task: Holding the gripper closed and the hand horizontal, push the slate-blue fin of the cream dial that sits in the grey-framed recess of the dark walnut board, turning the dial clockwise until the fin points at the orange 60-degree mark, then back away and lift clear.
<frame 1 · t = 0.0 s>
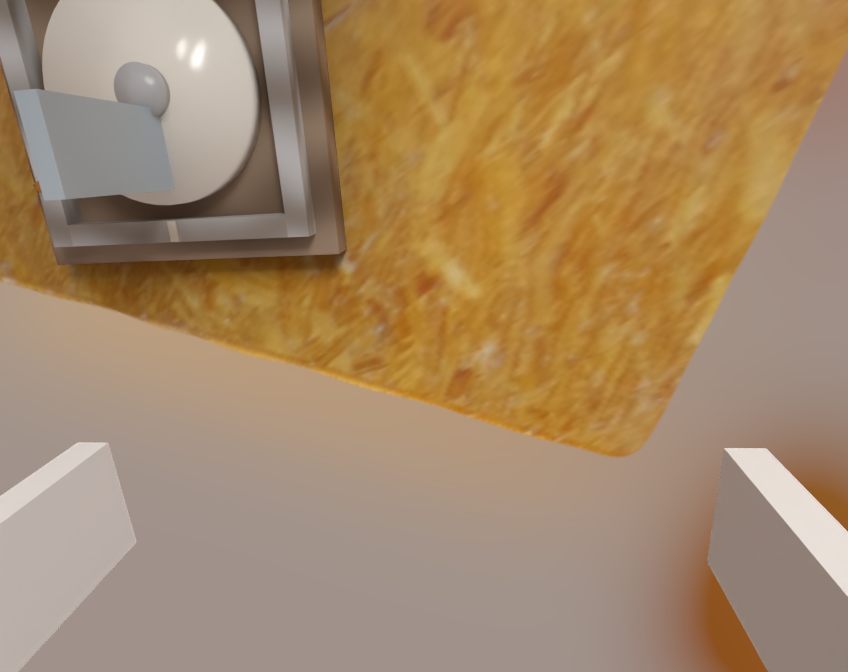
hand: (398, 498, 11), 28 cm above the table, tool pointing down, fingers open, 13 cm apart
dial housing: (177, 98, 36), on the table
dial: (101, 83, 29), point 8 cm above the table, hinge at 0.0°
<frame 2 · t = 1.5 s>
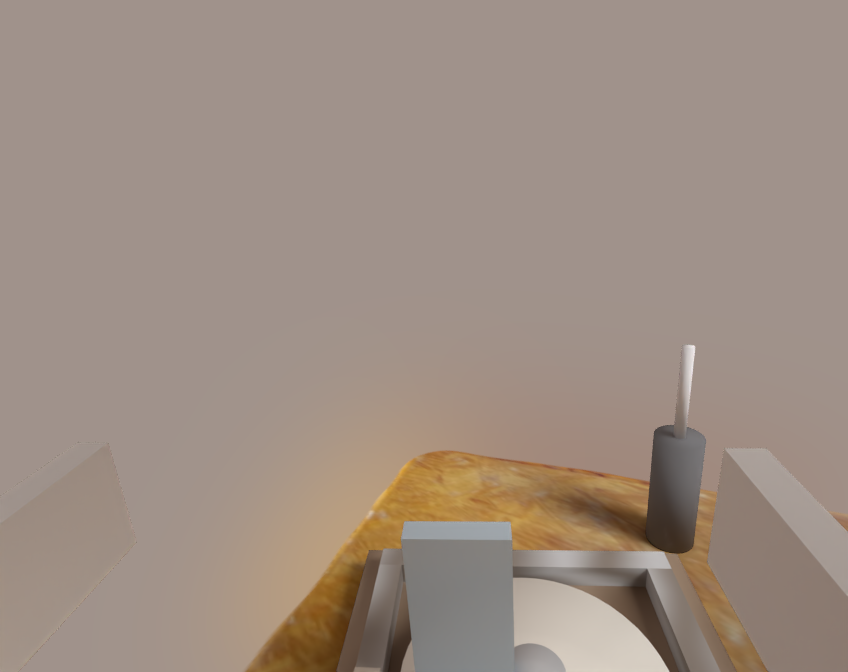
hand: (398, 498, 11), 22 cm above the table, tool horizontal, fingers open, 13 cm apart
screwdriver: (669, 537, 40), on the table
dial: (533, 623, 25), point 8 cm above the table, hinge at 0.0°
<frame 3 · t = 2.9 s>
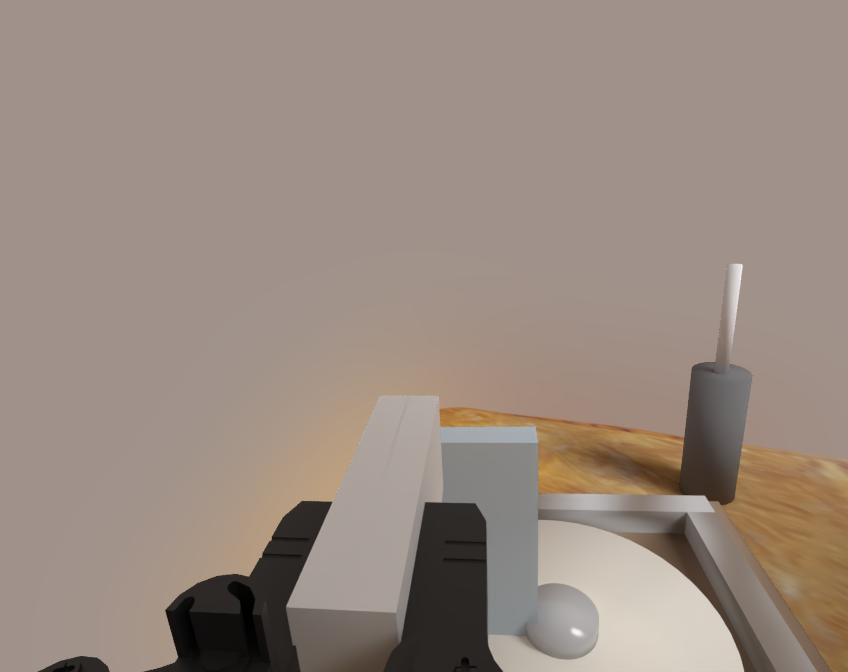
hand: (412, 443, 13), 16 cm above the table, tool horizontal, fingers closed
screwdriver: (706, 490, 36), on the table
dial: (561, 552, 21), point 8 cm above the table, hinge at 0.0°
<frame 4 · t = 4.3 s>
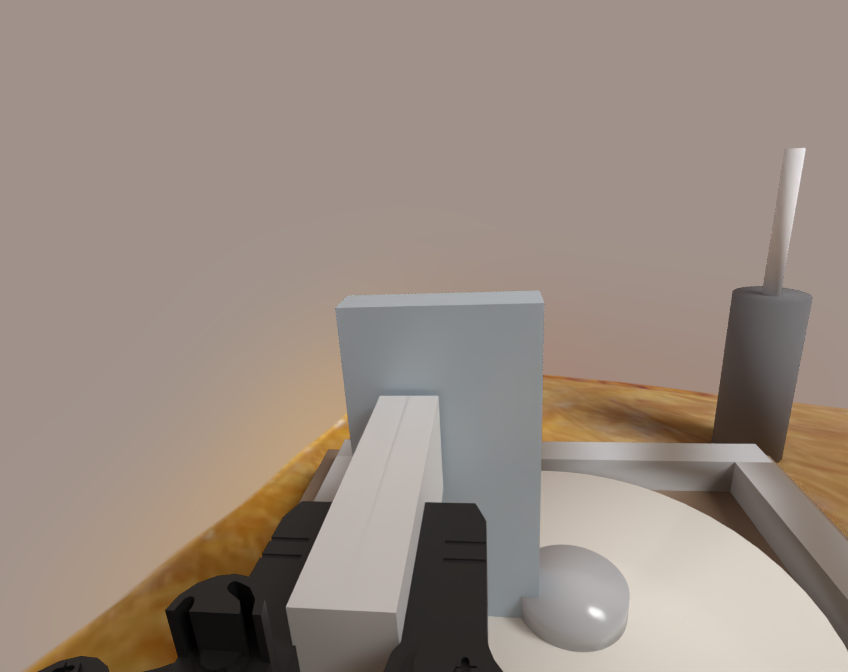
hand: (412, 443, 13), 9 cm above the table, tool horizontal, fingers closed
screwdriver: (745, 448, 29), on the table
dial: (575, 490, 14), point 8 cm above the table, hinge at 0.0°, touching gripper
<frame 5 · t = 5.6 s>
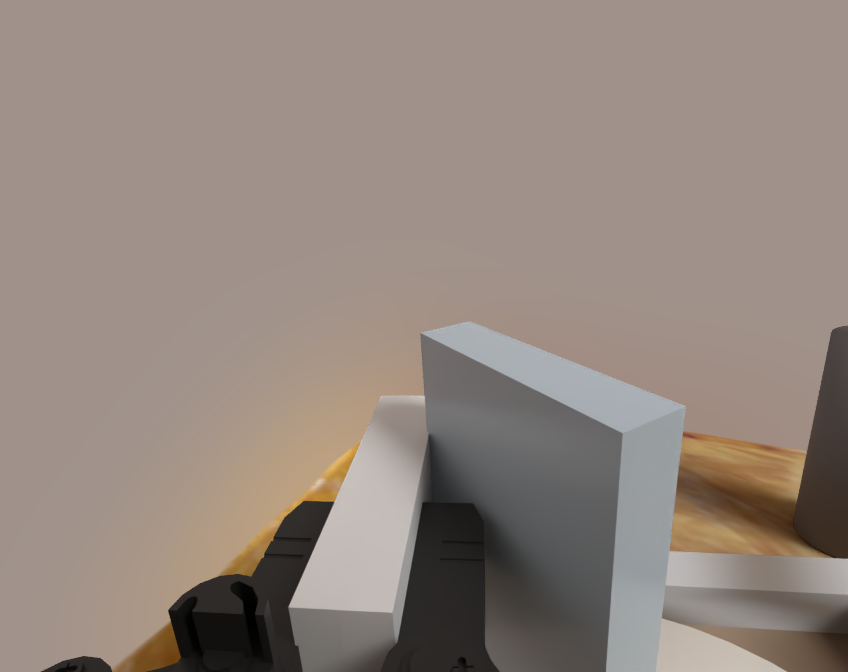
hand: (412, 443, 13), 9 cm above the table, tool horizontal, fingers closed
screwdriver: (840, 535, 22), on the table
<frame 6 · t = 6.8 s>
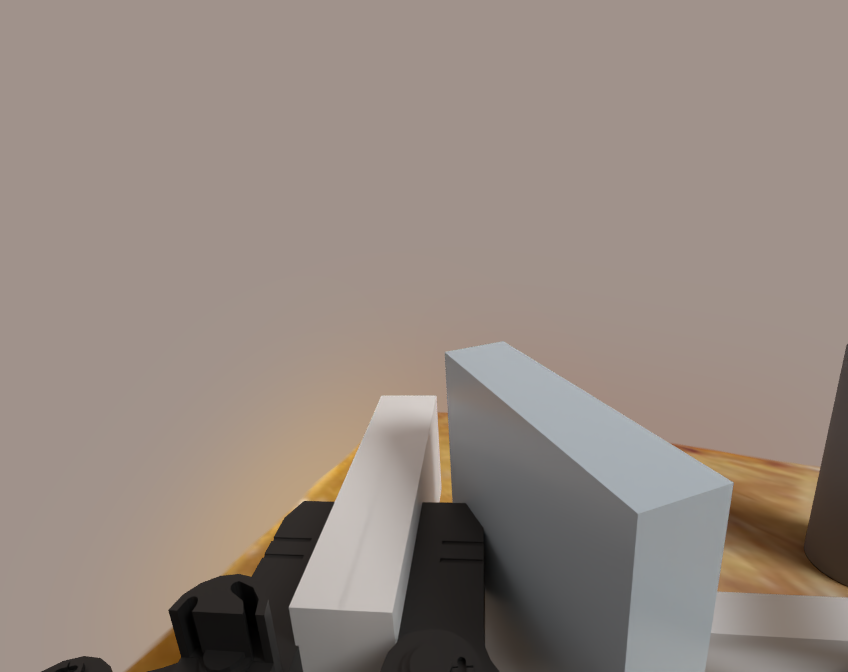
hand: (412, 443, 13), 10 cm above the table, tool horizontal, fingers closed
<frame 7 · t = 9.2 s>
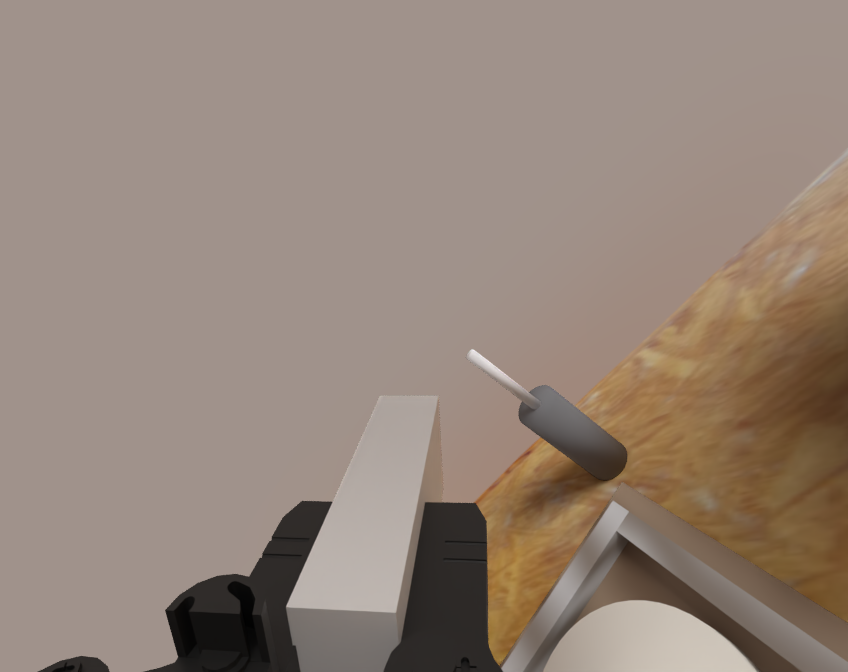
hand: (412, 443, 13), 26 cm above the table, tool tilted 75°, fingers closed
screwdriver: (608, 460, 41), on the table
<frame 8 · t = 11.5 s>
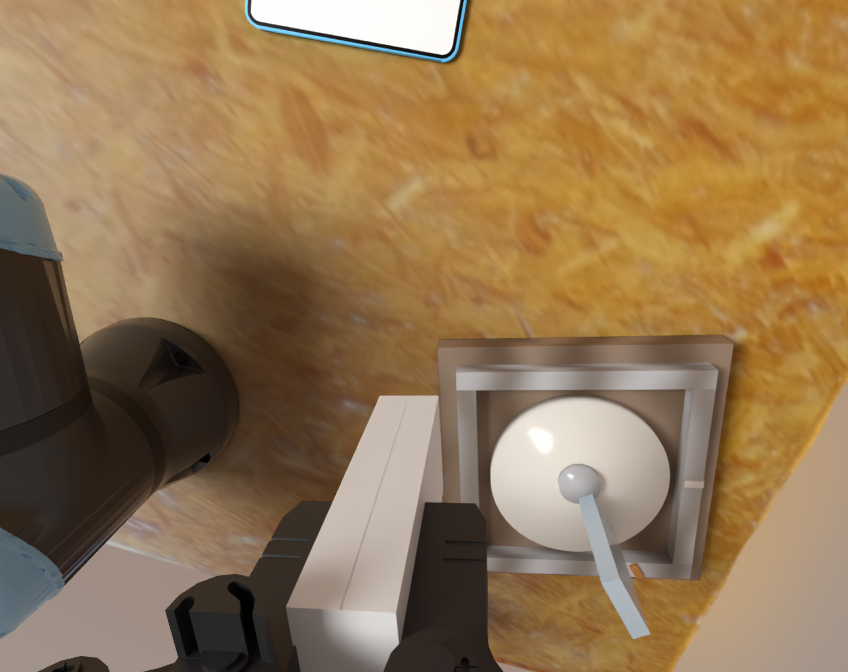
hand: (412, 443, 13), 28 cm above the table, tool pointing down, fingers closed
dial housing: (571, 456, 45), on the table
dial: (587, 513, 37), point 8 cm above the table, hinge at -63.5°
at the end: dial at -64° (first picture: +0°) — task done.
